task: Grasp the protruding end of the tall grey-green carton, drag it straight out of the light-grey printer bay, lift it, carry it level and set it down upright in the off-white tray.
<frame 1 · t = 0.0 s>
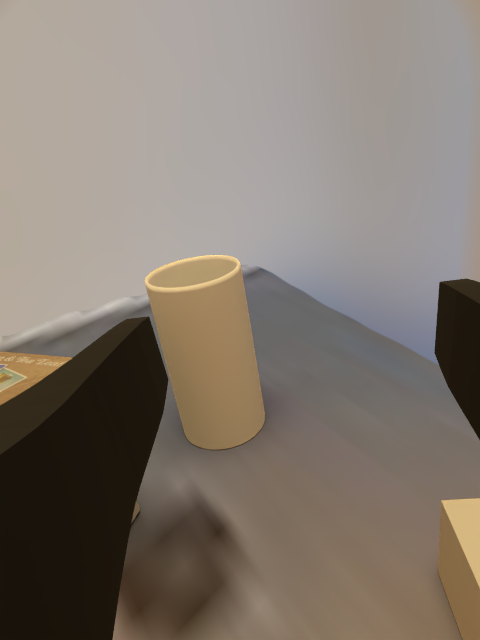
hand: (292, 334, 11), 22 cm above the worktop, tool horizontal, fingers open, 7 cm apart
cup: (224, 422, 44), on the worktop
tea box: (31, 546, 34), on the worktop
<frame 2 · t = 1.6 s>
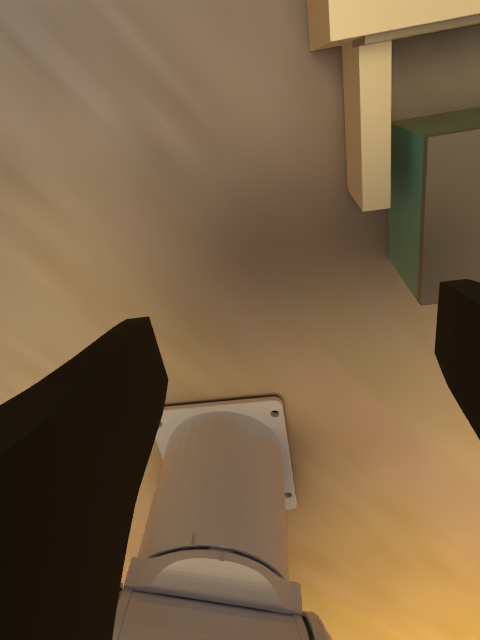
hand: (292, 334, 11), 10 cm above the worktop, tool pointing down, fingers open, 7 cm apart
bay: (440, 100, 17), on the worktop
tall grey-green carton: (434, 187, 19), on the worktop
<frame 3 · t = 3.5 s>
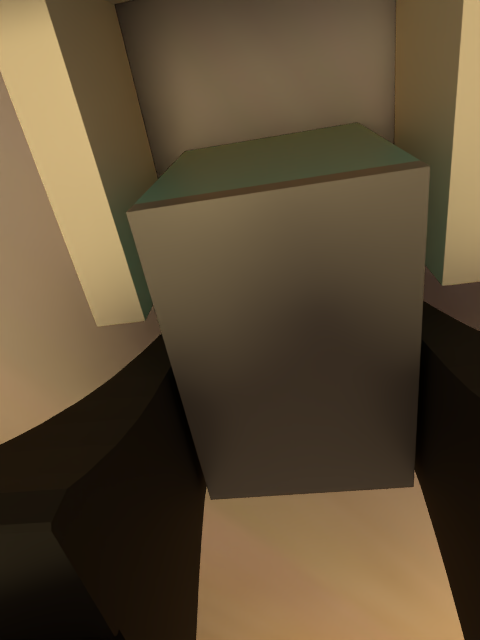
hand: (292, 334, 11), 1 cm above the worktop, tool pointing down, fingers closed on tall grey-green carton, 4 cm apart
bay: (266, 113, 10), on the worktop
tall grey-green carton: (283, 257, 11), on the worktop, touching gripper
when the fingers open (3 cm above the worktop, at t = 7.9 s): tall grey-green carton stays where it is, resting on tray.
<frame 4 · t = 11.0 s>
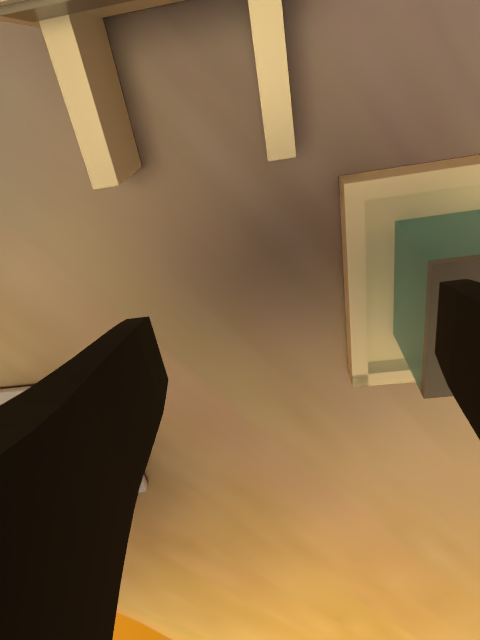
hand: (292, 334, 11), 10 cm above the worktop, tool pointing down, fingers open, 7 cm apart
tray: (434, 273, 21), on the worktop
bay: (188, 78, 17), on the worktop
tall grey-green carton: (437, 276, 21), resting on tray
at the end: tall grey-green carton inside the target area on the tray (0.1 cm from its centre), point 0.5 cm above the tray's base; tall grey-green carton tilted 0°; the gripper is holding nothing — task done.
